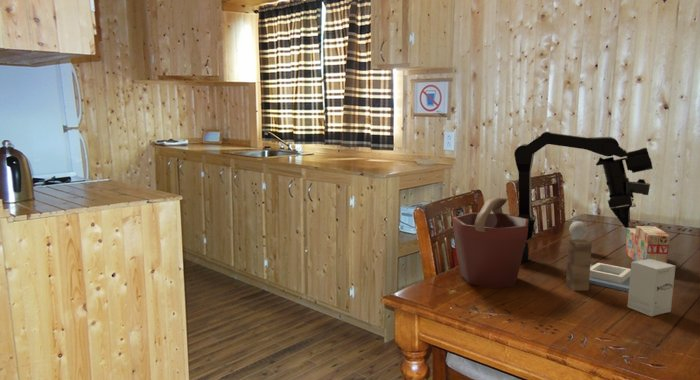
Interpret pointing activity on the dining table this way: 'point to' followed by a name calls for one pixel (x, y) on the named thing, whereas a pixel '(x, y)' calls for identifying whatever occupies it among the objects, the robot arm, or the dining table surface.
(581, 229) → the lightbulb
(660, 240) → the stack of blocks
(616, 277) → the socket
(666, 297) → the supplement box
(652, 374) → the dining table surface
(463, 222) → the bucket
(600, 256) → the dining table surface
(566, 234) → the dining table surface
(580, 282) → the walnut pillar
